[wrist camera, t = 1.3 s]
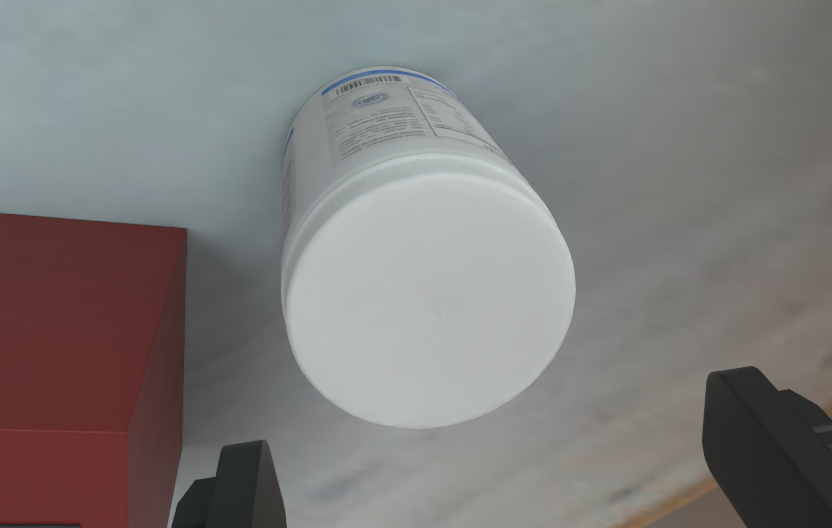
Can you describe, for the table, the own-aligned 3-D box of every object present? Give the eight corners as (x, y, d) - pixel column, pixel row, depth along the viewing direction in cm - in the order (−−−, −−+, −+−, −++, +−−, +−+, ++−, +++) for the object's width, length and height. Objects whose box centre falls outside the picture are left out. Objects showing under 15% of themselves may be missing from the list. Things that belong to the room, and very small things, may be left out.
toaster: (-54, 444, 40) (-227, 730, 26) (-92, 205, 33) (-342, 422, 20) (181, 449, 42) (131, 713, 29) (187, 228, 36) (126, 434, 23)
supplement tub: (401, 278, 39) (455, 478, 26) (243, 186, 35) (215, 365, 22) (517, 132, 36) (643, 275, 23) (358, 14, 32) (403, 106, 20)
